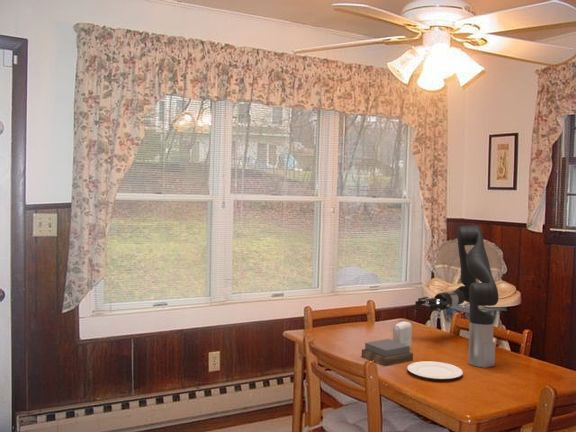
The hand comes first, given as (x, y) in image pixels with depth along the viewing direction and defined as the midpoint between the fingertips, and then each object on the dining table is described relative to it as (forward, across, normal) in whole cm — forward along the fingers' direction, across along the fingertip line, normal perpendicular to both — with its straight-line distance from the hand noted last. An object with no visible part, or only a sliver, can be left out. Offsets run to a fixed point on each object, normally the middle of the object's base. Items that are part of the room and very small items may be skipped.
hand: (423, 305), depth 253 cm
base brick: (+29, +6, +16) cm, 33 cm away
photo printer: (+13, 0, +18) cm, 22 cm away
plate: (+27, +30, +16) cm, 43 cm away
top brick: (+28, +5, +14) cm, 32 cm away
